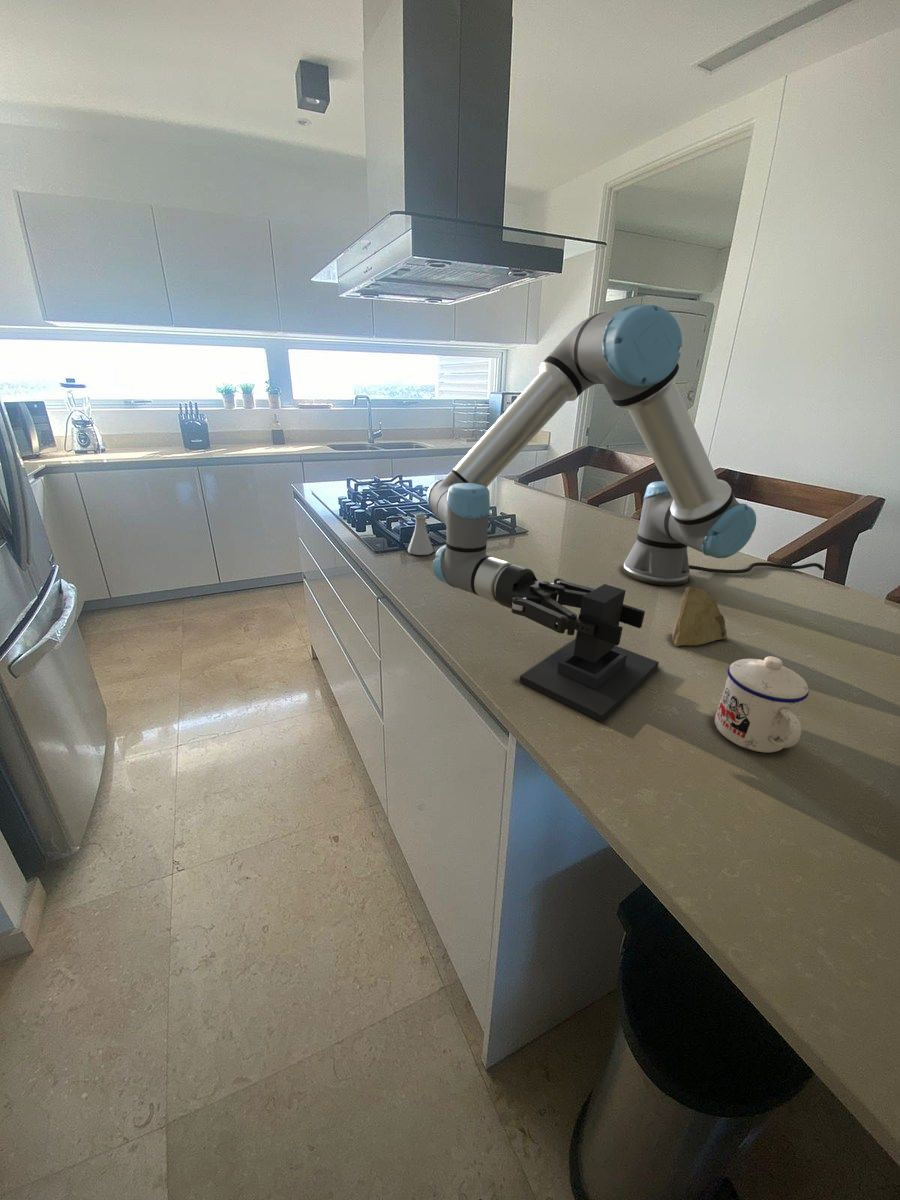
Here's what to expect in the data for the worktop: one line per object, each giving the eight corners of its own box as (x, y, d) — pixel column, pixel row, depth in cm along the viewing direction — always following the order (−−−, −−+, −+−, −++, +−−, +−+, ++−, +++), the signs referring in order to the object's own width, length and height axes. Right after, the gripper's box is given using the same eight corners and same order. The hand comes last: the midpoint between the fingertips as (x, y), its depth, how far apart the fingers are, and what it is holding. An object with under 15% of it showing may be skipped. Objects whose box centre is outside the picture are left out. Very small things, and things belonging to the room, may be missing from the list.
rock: (726, 618, 94) (672, 604, 96) (747, 597, 87) (688, 582, 89) (720, 668, 90) (664, 652, 92) (741, 650, 82) (680, 633, 84)
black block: (594, 639, 80) (604, 583, 76) (614, 647, 78) (625, 590, 74) (573, 654, 76) (582, 596, 72) (593, 663, 74) (604, 603, 69)
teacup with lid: (700, 711, 71) (720, 641, 66) (761, 712, 71) (786, 642, 66) (746, 771, 60) (775, 693, 55) (819, 772, 60) (854, 694, 55)
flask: (435, 548, 136) (435, 513, 132) (431, 556, 129) (432, 520, 125) (409, 546, 136) (409, 511, 132) (405, 555, 130) (404, 518, 126)
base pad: (582, 639, 90) (584, 623, 89) (657, 668, 81) (661, 651, 80) (519, 682, 76) (521, 664, 75) (601, 722, 68) (604, 703, 66)
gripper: (536, 588, 94) (653, 628, 80) (468, 620, 80) (595, 675, 66) (540, 551, 91) (662, 586, 77) (470, 578, 77) (604, 626, 63)
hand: (631, 627), depth 71 cm, fingers closed on black block, 7 cm apart
